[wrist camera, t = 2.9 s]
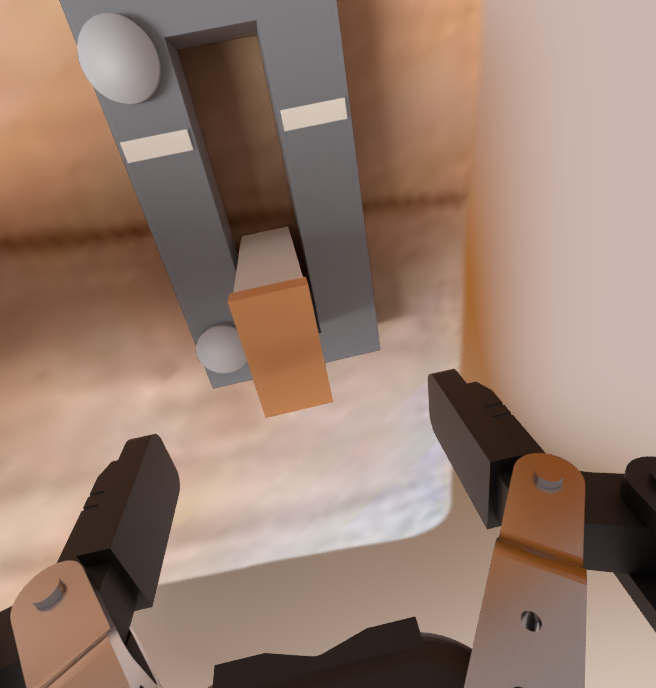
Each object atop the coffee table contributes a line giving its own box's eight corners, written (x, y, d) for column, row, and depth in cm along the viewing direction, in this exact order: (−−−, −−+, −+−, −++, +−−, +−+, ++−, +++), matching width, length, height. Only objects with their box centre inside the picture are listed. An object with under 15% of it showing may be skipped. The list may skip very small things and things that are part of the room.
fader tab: (263, 318, 24) (265, 418, 16) (239, 234, 22) (227, 302, 14) (307, 308, 25) (333, 402, 16) (289, 223, 22) (308, 284, 14)
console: (217, 361, 26) (212, 393, 23) (84, 6, 17) (46, -20, 14) (368, 327, 26) (382, 354, 23) (317, -37, 17) (330, -71, 14)
